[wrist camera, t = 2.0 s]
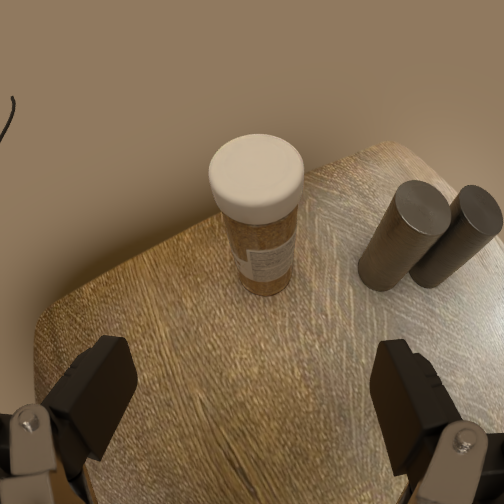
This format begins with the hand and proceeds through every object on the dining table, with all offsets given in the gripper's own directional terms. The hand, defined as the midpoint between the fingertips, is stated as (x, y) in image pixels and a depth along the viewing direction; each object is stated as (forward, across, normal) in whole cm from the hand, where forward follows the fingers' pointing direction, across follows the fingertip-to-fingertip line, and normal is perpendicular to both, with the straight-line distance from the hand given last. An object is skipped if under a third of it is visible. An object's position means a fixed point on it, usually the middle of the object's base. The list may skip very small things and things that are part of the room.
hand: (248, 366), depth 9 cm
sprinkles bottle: (+17, 0, +4) cm, 17 cm away
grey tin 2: (+17, -15, +4) cm, 23 cm away
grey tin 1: (+17, -10, +4) cm, 20 cm away
